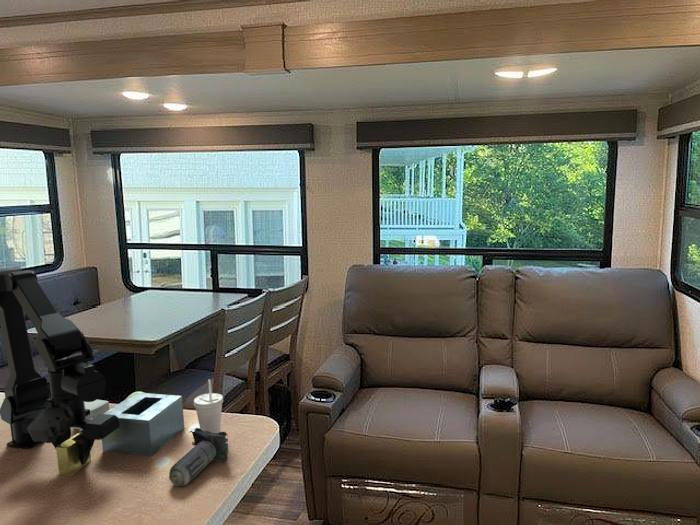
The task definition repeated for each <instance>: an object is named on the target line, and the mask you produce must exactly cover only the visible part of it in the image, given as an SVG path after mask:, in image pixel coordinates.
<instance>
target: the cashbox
mask: <svg viewBox="0 0 700 525" xmlns="http://www.w3.org/2000/svg"><path fill="white" fill-rule="evenodd" d="M104 414H110V415H116V416H117V417H118V418H119V425H120V427H119V428H118V429H116V430H115V431H113V432H112V433H111V434H109V435H108V436H106V437H105V438H103V439H101V443H102V444H101V445H102V452H108V453H109V452H110V453H117V452H118V453H119V454H127V455H139V456H148V457H153V456H155V454H157V453H158V452H159V451H161V449H162V448H163V447H165V446H166V445H167V444H168V443H170V441H171V440H173V439H174V438H175V437H176V436H177V435H178V434H180V433H181V432H182V431H183V430H184V429H185V420H184V419H185V417H184V416H185V415H184V406H183V395H176V394H175V395H174V394H160V393H147V392H144V393H135V394H134V395H132V396H130V397H129V398H127V397H126V398H125V399H124V400H123V401H121V402H120V403H118V404H116V405H114V406H113V407H111V408H109V410H108V411H107V412H105V413H104Z"/></svg>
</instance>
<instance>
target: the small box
mask: <svg viewBox="0 0 700 525" xmlns="http://www.w3.org/2000/svg"><path fill="white" fill-rule="evenodd" d="M84 404H85V409H90V414H89V415H88V416H86V419H92V418H95V417H96V416H98V415H99V414H104V413H105V412H107V411H108V410H110V401H108V400H102V399H97V400H95V401H93V402H85V401H84Z"/></svg>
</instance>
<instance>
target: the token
mask: <svg viewBox="0 0 700 525" xmlns="http://www.w3.org/2000/svg"><path fill="white" fill-rule="evenodd" d="M77 435H79V432H77V433H76V434H74V435H72V436H71V438H70V439H68V440H66V441H65V442H63V443H62V444H60V445H59V446H57V447H56V449H55V450H56V451H55V452H56V457H57V466H58V472H59V473H58V474H59V476H64V477H71V476H73V475H75V473H77V472H78V471H79V470H81V469H82V468H83V467H85V466H87V463H88V462H89V463H90V462H91V461H92V458H91V457H92V456H91V455H92V454H91V453H90V454H89V457H88V459H87V462H86V463H85V464H84V465H85V466H84V465H81V462H80V458H79V451H78V444H77V443H76V442H75V441H73V440H72V439H73V438H74V437H76V436H77ZM89 463H88V464H89ZM77 470H78V471H77ZM76 471H77V472H76Z"/></svg>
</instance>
